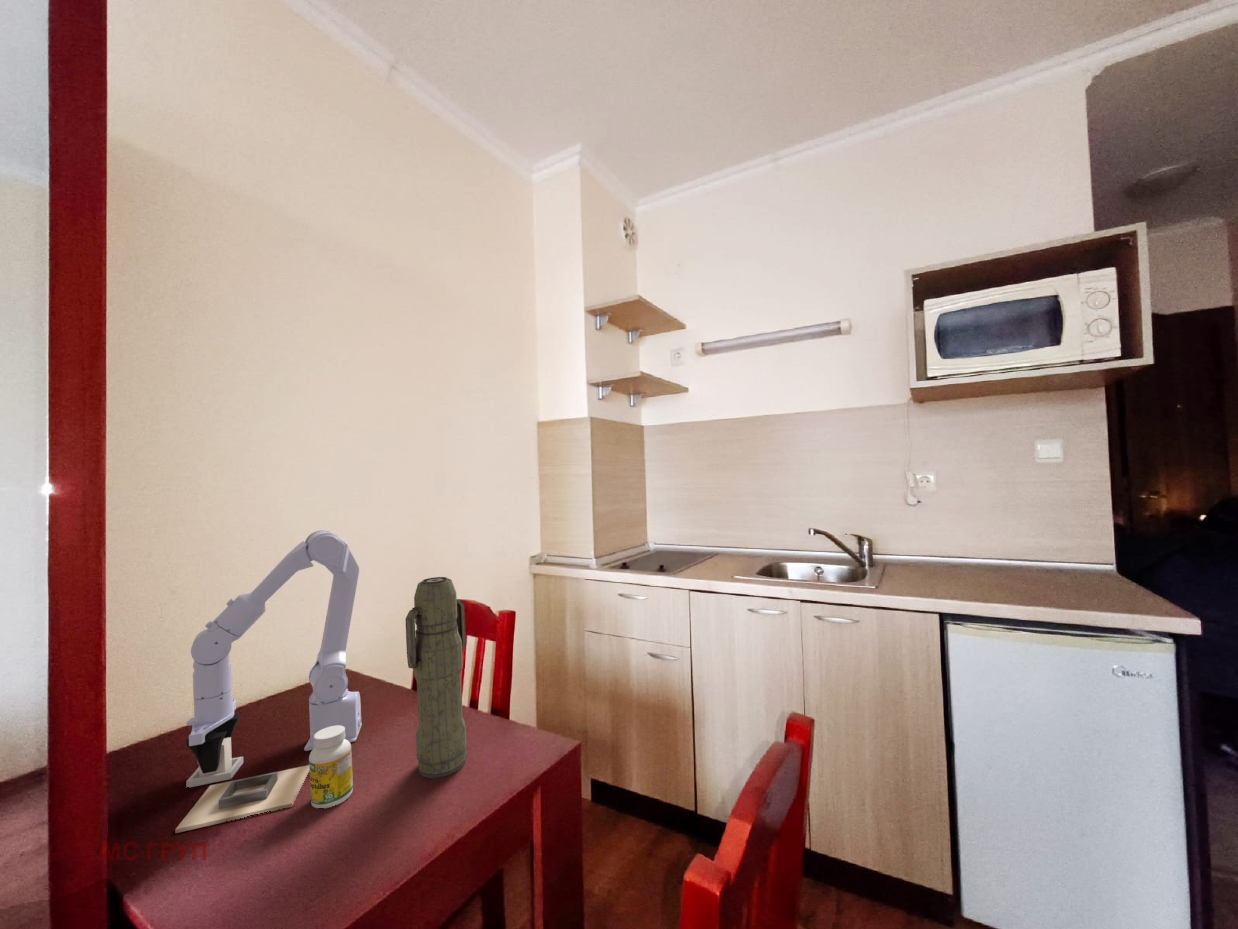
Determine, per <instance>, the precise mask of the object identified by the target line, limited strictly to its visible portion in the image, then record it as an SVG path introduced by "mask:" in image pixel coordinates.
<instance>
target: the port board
mask: <svg viewBox="0 0 1238 929" xmlns="http://www.w3.org/2000/svg"><path fill="white" fill-rule="evenodd" d="M308 773H309V774H310V768H309V764H307V765H303V766H298V767H293V768H288V769H285V770H284V769H283V770H279V771H274V772H269V773H265V774H259V775H254V776H250V777H244V778H240V779H234V780H231V781H225V782H221V783H220V782H219V783H216V784H210V785H209V786H208V788H207V789H206V790H205V791H204V792H203V794H202V795H201V796H200V797H199V799H198V800H197V801H196V803H195V804H194V805H193V807H192V808H191V809H190V810H189V812H187V814H186V816H185V817H184V818H183V819H182V821H181V822H180V823H179V824H178V826H177V827H175V829H174V830H175V834H178V833H182V832H186V831H192V830H196V829H200V828H204V827H210V826H214V825H217V824H222V823H226V821H227V822H231V820H232V821H236V820H240V818H241V819H244V817H245V818H248V817H247V816H249V817H251V816H250V815H254V814H258V815H261V814H260V813H263V814H265V813H264V812H267V811H268V812H267V813H270V812H269V811H271V812H275V811H279V810H278V809H280V810H284V809H283V808H285V809H288V808H293V806H292V805H294V804H295V802H296V800H297V798H296V797H298V796H297V795H299V794H300V792H299V791H301V790H300V789H302V788H303V786H304V784H303V783H305V782H306V780H305V779H307V778H308V776H307V775H309V774H308ZM306 777H307V778H306ZM304 781H305V782H304ZM302 785H303V786H302ZM301 787H302V788H301ZM294 801H295V802H294ZM254 816H255V815H254ZM235 819H236V820H235Z"/></svg>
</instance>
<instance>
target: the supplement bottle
mask: <svg viewBox="0 0 1238 929" xmlns="http://www.w3.org/2000/svg"><path fill="white" fill-rule="evenodd" d="M313 744H314V746H315V748H314V749H313V750H310V751H311V752H310V754H309V756H308V765H309V768H310V771H309V784H310V785H309V787H310V788H309V790H310V791H309V792H310V803H311V806H312V807H313V808H315V809H318V808H324V809H328V808H333V807H336V806H338V805H340V804H342V803H343V802H345V801H346V800H347V799H349V798H350V796H351V795H352V793H353V790H354V781H353V780H354V779H353V778H354V777H353V776H354V774H353V756H352V744H351V742H349V741H348V740H346V739H345V727H343V726H339V725H337V726H330V727H327V728H324V729H322V730H320V731H318V732H317V733H316V734H315V735H314V743H313ZM335 805H336V806H335ZM332 806H333V807H332Z"/></svg>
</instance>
